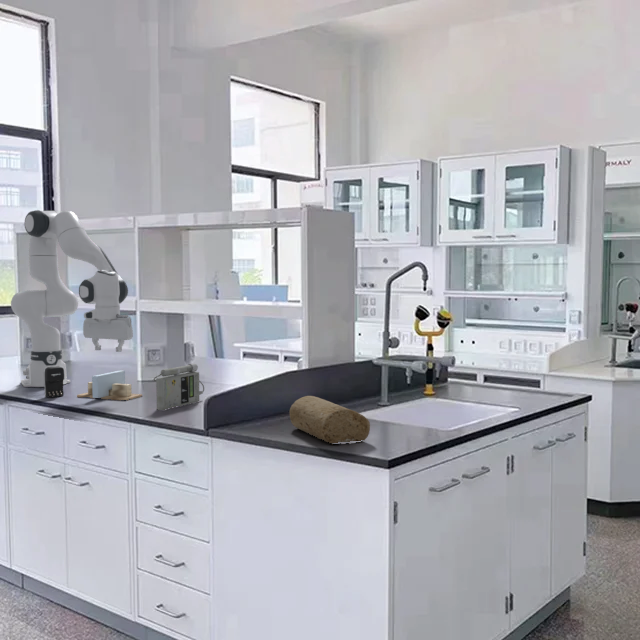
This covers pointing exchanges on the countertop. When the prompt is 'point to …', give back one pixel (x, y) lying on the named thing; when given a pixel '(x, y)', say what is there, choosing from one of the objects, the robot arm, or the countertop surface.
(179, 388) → the geiger counter
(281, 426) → the countertop surface
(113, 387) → the joint jig
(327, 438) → the core sample
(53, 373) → the battery
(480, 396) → the countertop surface
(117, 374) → the blue plate
